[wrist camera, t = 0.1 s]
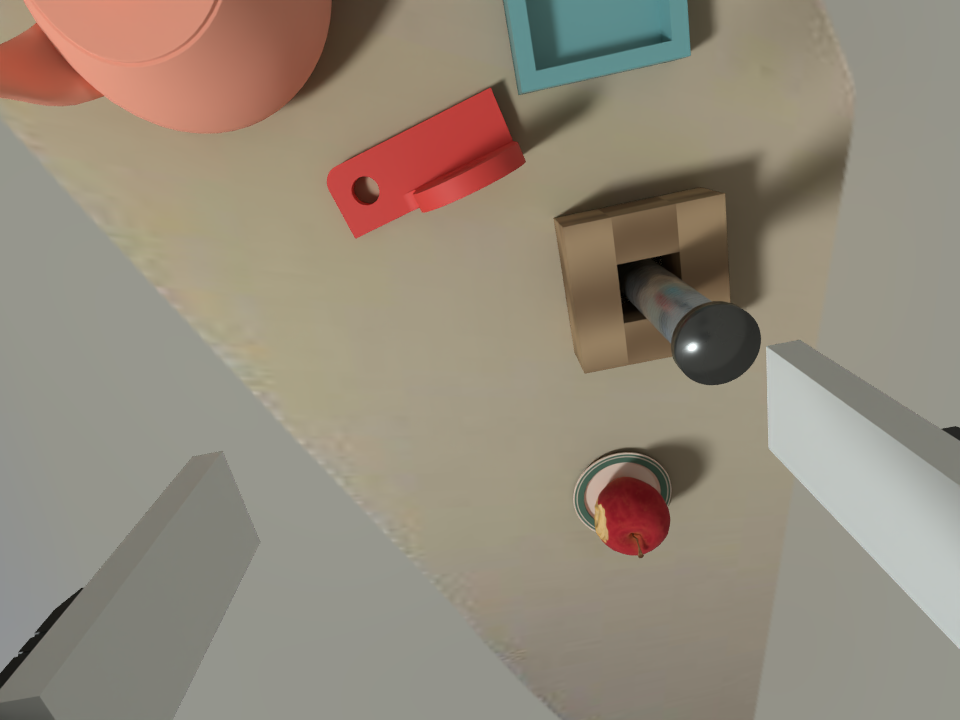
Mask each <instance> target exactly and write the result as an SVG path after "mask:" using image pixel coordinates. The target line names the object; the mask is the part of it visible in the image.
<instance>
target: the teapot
mask: <svg viewBox="0 0 960 720" xmlns="http://www.w3.org/2000/svg"><path fill="white" fill-rule="evenodd" d="M24 2H25V4H26V6H27V7H28V9H29V11H30V12H31V14H32V16H33V17H34V19H35V20H36V22H37V23H36V24H35V25H33V26H32V27H31V28H29V29H28V30H27V31H25V32H23V33H21V34H20V35H18V36H16V37H14V38H13V39H11V40H9V41H7V42H4V43H2V44H0V98H6V99H12V100H18V101H23V102H28V103H33V104H39V105H46V106H68V105H77V104H80V103H84V102H87V101H91V100H94V99H97V98H100V97H103V96H105V97H107V98H108V99H109V100H111V101H112V102H113V103H115V104H117V105H119V106H120V107H122V108H124V109H125V110H127V111H129V112H131V113H132V114H134V115H136V116H138V117H140V118H143V119H145V120H147V121H150V122H152V123H154V124H157V125H160V126H163V127H166V128H170V129H173V130H177V131H184V132H191V133H222V132H229V131H234V130H238V129H241V128H245V127H248V126H251V125H253V124H255V123H257V122H260V121H262V120H264V119H266V118H267V117H269V116H270V115H272V114H274V113H275V112H277V111H278V110H280V109H281V108H282V107H283V106H284V105H285V104H287V103H288V102H289V101H290V100H291V99H292V98H293V97H294V96H295V95H296V94H297V93H298V91H299V90H300V89H301V88H302V87H303V86H304V84H305V83H306V81H307V80H308V78H309V77H310V75H311V73H312V72H313V70H314V68H315V66H316V64H317V62H318V60H319V58H320V56H321V53H322V51H323V48H324V45H325V42H326V39H327V35H328V30H329V24H330V19H331V4H332V0H24Z"/></svg>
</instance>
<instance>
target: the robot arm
mask: <svg viewBox="0 0 960 720" xmlns="http://www.w3.org/2000/svg"><path fill="white" fill-rule="evenodd" d="M766 356H767V401H768V446H769V449H770V450H771V451H772V452H773V453H774V455H775V456H776V457H777V458H778V459H779V460H780V461H781V462H782V463H783V464H784V465H785V466H786V467H787V468H788V469H789V470H790V471H791V472H792V473H793V474H794V476H795V477H796V478H797V479H798V480H799V481H801V483H802V484H803V485H804V486H805V487H806V488H807V489H808V490H809V491H810V492H811V493H812V494H813V495H814V497H815V498H816V499H817V500H818V501H819V502H820V503H821V504H822V505H823V506H824V507H825V508H826V509H827V510H828V511H829V512H830V513H831V514H832V515H833V517H834V518H835V519H836V520H837V521H838V522H839V523H840V524H841V525H842V526H843V527H844V528H845V529H846V530H847V531H848V532H849V533H850V534H851V535H852V536H853V538H854V539H855V540H856V541H857V542H858V543H859V544H860V545H861V546H862V547H863V548H864V549H865V550H866V551H867V552H868V553H869V554H870V555H871V556H872V557H873V559H874V560H875V561H876V562H877V563H878V564H879V565H880V566H881V567H882V568H883V569H884V570H885V571H886V572H887V573H888V574H889V575H890V576H891V577H892V578H893V580H894V581H895V582H896V583H897V584H898V585H899V586H900V587H901V588H902V589H903V590H904V591H905V592H906V593H907V594H908V595H909V596H910V597H911V598H912V600H913V601H914V602H915V603H916V604H917V605H918V606H919V607H920V608H921V609H922V610H923V611H924V612H925V613H926V614H927V615H928V616H929V617H930V618H931V620H932V621H933V622H935V624H936V625H937V626H938V627H939V628H940V629H941V630H942V631H943V632H944V633H945V634H946V635H947V636H948V637H949V638H950V639H951V641H952V642H953V643H954V644H955V645H956V646H957V647H958V648H959V649H960V428H959V427H956V426H955V427H949V428H944V429H940V428H939V427H937V426H935V425H934V424H932V423H931V422H929V421H927V420H926V419H924V418H923V417H921V416H920V415H918V414H916V413H915V412H913V411H912V410H910V409H908V408H907V407H905V406H903V405H902V404H900V403H899V402H897V401H896V400H894V399H893V398H891V397H889V396H888V395H886V394H884V393H883V392H881V391H880V390H878V389H877V388H875V387H874V386H872V385H870V384H869V383H867V382H866V381H864V380H862V379H861V378H859V377H857V376H856V375H854V374H853V373H851V372H850V371H848V370H847V369H845V368H843V367H842V366H840V365H839V364H837V363H835V362H834V361H832V360H831V359H829V358H828V357H826V356H824V355H823V354H821V353H820V352H818V351H816V350H815V349H813V348H812V347H810V346H809V345H807V344H805V343H804V342H802V341H801V340H796V341H791V342H786V343H781V344H775V345H770V346H766ZM259 543H260V540H259V537H258V535H257V532H256V530H255V528H254V525H253V523H252V521H251V518H250V516H249V513H248V511H247V508H246V506H245V504H244V501H243V499H242V496H241V494H240V491H239V489H238V487H237V484H236V482H235V479H234V477H233V475H232V472H231V470H230V468H229V465H228V463H227V460H226V458H225V455H224V453H223V451H219V452H215V453H209V454H204V455H199V456H193V457H192V458H191V459H190V460H189V461H188V463H187V464H186V465H185V466H184V467H183V469H182V470H181V471H180V472H179V474H178V475H177V476H176V477H175V478H174V480H173V481H172V482H171V483H170V484H169V486H168V487H167V488H166V489H165V490H164V492H163V493H162V494H161V495H160V497H159V498H158V499H157V500H156V501H155V503H154V504H153V505H152V506H151V507H150V509H149V510H148V511H147V512H146V513H145V515H144V516H143V517H142V518H141V520H140V521H139V522H138V523H137V524H136V526H135V527H134V528H133V529H132V530H131V532H130V533H129V534H128V535H127V536H126V538H125V539H124V540H123V541H122V542H121V544H120V545H119V546H118V547H117V549H116V550H115V551H114V552H113V554H112V555H111V556H110V557H109V558H108V559H107V561H106V562H105V563H104V564H103V566H102V567H101V568H100V569H99V570H98V572H97V573H96V574H95V575H94V576H93V578H92V579H91V580H90V581H89V582H88V584H87V585H86V586H85V587H84V588H81V589H80V590H78V591H77V592H76V593H75V594H73V595H72V596H71V597H70V598H68V599H67V600H66V601H65V602H63V603H62V604H61V605H60V606H59V607H57V608H56V609H55V610H54V611H53V612H52V613H51V614H50V616H49V617H48V618H47V619H46V620H45V621H44V623H43V624H42V625H41V626H40V627H39V629H38V630H37V631H36V632H35V637H32V638H30V639H29V640H28V642H27V643H26V644H25V645H24V646H23V647H22V649H21V650H20V651H19V652H18V657H14V658H13V659H12V660H11V662H10V663H9V664H8V665H7V666H6V667H5V668H4V670H3V671H2V672H1V673H0V720H173V718H174V716H175V714H176V712H177V710H178V708H179V706H180V704H181V701H182V700H183V698H184V696H185V694H186V692H187V690H188V688H189V686H190V683H191V682H192V680H193V677H194V675H195V673H196V671H197V669H198V667H199V665H200V663H201V661H202V659H203V657H204V655H205V653H206V651H207V649H208V647H209V645H210V643H211V641H212V639H213V637H214V635H215V633H216V631H217V629H218V626H219V625H220V623H221V621H222V619H223V616H224V615H225V612H226V610H227V608H228V606H229V604H230V602H231V600H232V598H233V596H234V594H235V592H236V590H237V588H238V586H239V584H240V582H241V580H242V578H243V576H244V574H245V572H246V570H247V568H248V566H249V564H250V562H251V560H252V558H253V556H254V553H255V552H256V550H257V547H258V546H259Z"/></svg>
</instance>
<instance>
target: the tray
mask: <svg viewBox="0 0 960 720" xmlns="http://www.w3.org/2000/svg"><path fill="white" fill-rule="evenodd" d="M503 3H504V9H505V16H506V22H507V28H508V34H509V40H510V46H511V52H512V58H513V64H514V70H515V76H516V82H517V89H518V95H521V94H526V93H530V92H535V91H539V90H544V89H548V88H553V87H558V86H562V85H567V84H571V83H576V82H580V81H585V80H589V79H594V78H598V77H603V76H607V75H612V74H616V73H621V72H625V71H630V70H634V69H639V68H643V67H648V66H652V65H657V64H661V63H666V62H670V61H675V60H678V59H682V58H685V57H688V56H691V52H690V37H689V21H688V5H687V0H503Z"/></svg>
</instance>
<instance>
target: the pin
mask: <svg viewBox="0 0 960 720" xmlns="http://www.w3.org/2000/svg"><path fill="white" fill-rule="evenodd" d="M617 271H618V279H619V288H620V291H621V292H622V293H623V294H624V295H625V296H626V297H627V298H628V299H629V300H630V302H631V303H632V304H633V305H634V306H635V307H636V308H637V309H638V310H639V311H640V312H641V313H642V314H643V315H644V316H645V317H646V318H647V319H648V320H649V321H650V322H651V324H652V325H653V326H654V327H655V328H656V329H657V330H658V331H659V332H660V333H661V334H662V335H663V336H664V337H665V338H666V339H667V340H668V341H669V342H670V343H671V352H672V356H673V359H674V361H675V363H676V364H677V366H678V367H679V368H680V369H681V370H682V371H683V372H684V374H685V375H686V376H687V377H689V378H690V379H692V380H693V381H695V382H698V383H701V384H705V385H719V384H724V383H727V382H730V381H732V380H734V379H736V378H738V377H739V376H741V375H742V374H743V373H744V372H746V371H747V370H748V369H749V368H750V366H751V365H752V364H753V362H754V361H755V359H756V357H757V355H758V352H759V349H760V344H761V334H760V330H759V327H758V324H757V323H756V321H755V319H754V318H753V317H752V316H751V315H750V314H749V313H747V312H746V311H744V310H743V309H741V308H740V307H738V306H736V305H734V304H732V303H729V302H724V301H711V300H709V299H708V298H706V297H705V296H704V295H702V294H701V293H699V292H698V291H696V290H695V289H694V288H692V287H691V286H689V285H688V284H687V283H685V282H684V281H682V280H681V279H679V278H678V277H677V276H675V275H674V274H672V273H671V272H669V271H668V270H667V269H665V268H664V267H662V266H661V265H659V264H658V263H657V262H655V261H654V260H652V259H651V258H647V259H642V260H637V261H632V262H628V263H623V264H618V265H617Z"/></svg>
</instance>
